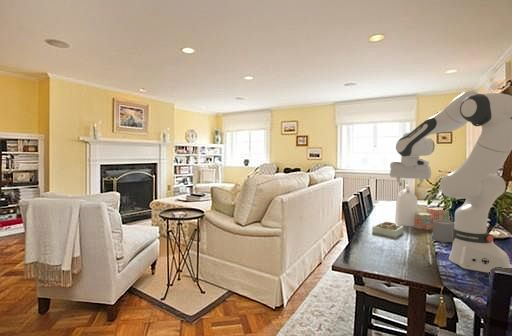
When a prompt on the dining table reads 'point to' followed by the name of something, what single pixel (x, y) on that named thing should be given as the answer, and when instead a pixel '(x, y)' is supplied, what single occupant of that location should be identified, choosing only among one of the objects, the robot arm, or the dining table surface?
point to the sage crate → (387, 231)
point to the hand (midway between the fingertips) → (409, 186)
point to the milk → (406, 207)
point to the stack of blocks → (430, 218)
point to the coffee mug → (443, 230)
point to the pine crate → (388, 225)
